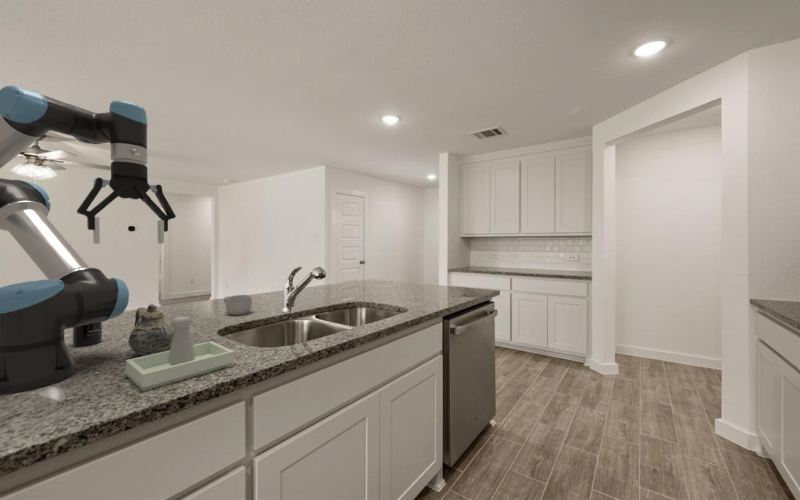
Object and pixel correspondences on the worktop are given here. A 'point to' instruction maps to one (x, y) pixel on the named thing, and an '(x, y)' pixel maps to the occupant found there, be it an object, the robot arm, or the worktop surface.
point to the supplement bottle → (87, 334)
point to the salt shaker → (181, 342)
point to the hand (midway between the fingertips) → (130, 243)
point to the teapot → (150, 332)
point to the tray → (177, 366)
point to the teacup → (238, 304)
